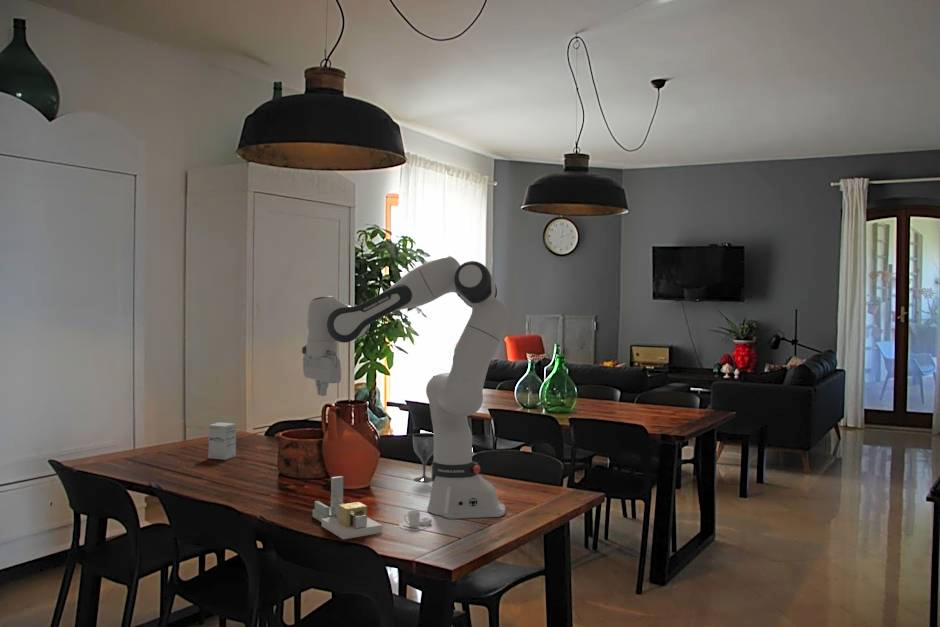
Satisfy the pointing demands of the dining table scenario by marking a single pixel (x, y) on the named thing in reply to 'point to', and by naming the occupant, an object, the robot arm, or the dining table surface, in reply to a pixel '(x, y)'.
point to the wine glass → (423, 451)
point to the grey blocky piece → (321, 511)
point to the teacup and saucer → (415, 520)
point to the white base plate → (351, 528)
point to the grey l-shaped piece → (337, 499)
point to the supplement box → (222, 441)
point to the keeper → (345, 512)
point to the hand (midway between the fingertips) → (321, 395)
